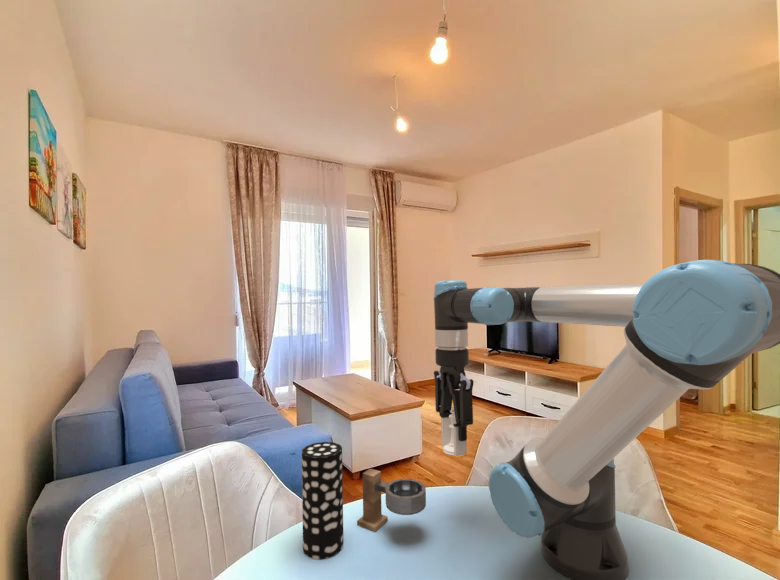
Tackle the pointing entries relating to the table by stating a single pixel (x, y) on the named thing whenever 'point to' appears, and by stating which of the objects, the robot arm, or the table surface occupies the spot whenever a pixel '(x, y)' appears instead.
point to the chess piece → (450, 447)
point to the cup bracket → (403, 496)
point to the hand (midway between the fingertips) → (454, 449)
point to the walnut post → (371, 502)
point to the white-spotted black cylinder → (322, 500)
